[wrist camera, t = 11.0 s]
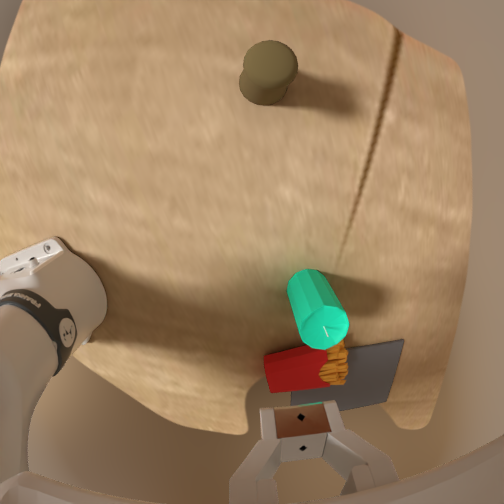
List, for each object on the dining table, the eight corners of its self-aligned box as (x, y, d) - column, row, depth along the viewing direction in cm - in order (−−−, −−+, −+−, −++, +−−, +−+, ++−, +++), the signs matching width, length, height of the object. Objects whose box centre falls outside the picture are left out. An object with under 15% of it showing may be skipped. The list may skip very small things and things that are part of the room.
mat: (290, 415, 53) (290, 417, 53) (292, 354, 48) (292, 356, 47) (385, 400, 54) (386, 401, 53) (402, 339, 48) (404, 340, 48)
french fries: (262, 364, 43) (350, 347, 42) (262, 346, 47) (344, 331, 46) (273, 403, 46) (351, 388, 45) (272, 385, 50) (346, 371, 49)
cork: (297, 88, 34) (318, 69, 24) (259, 114, 35) (266, 103, 25) (267, 52, 33) (277, 21, 22) (228, 78, 34) (224, 55, 23)
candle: (327, 302, 45) (352, 352, 34) (287, 308, 45) (302, 361, 34) (327, 266, 43) (355, 309, 31) (285, 271, 43) (300, 318, 31)
